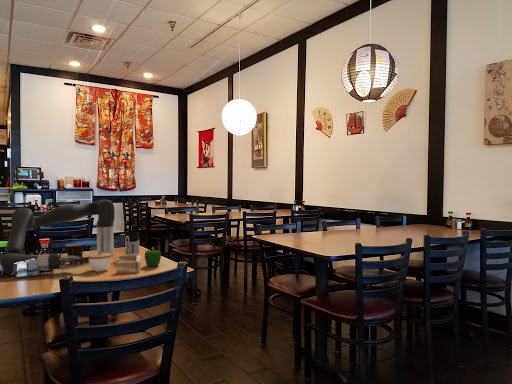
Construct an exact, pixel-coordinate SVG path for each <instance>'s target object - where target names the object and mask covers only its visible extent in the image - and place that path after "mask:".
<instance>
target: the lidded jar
mask: <svg viewBox="0 0 512 384" xmlns="http://www.w3.org/2000/svg"><path fill="white" fill-rule="evenodd" d="M87 257H88V260H89V261H88V265H89V268H90V269H91V270H92V271H93V272H96V273H97V272H105V271H107V269H108V268H109V267H110V265H111V262H112V255H111V254H110V253H101V251H99V253H97V252H94V253H91V254H89V255H87Z"/></svg>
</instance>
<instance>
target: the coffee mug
mask: <svg viewBox="0 0 512 384" xmlns="http://www.w3.org/2000/svg"><path fill="white" fill-rule="evenodd" d="M65 246H66V253H67V256H70V255H72V256H79V257H84V256H83V254H84V246H85V244H84V243H69V244H65ZM82 263H83V262H80V263H78V264H79V265H81V264H82ZM78 264H77V265H78Z"/></svg>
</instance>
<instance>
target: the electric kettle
mask: <svg viewBox="0 0 512 384" xmlns="http://www.w3.org/2000/svg"><path fill="white" fill-rule="evenodd" d="M124 234H125V235H124V239H125V240H124V255H134V254H140V232H139V231H137V230H132V231H131V230H129V231H125V233H124Z"/></svg>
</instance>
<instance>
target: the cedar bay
mask: <svg viewBox="0 0 512 384" xmlns="http://www.w3.org/2000/svg"><path fill="white" fill-rule="evenodd" d="M118 258H119V259H118V261H117V262H116V264H115V265H116V267H115V269H116V274H127V273H140V272H141V271H142V270H141V269H142V254H141V253H139V254H134V255H125V254H119V256H118Z"/></svg>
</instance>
